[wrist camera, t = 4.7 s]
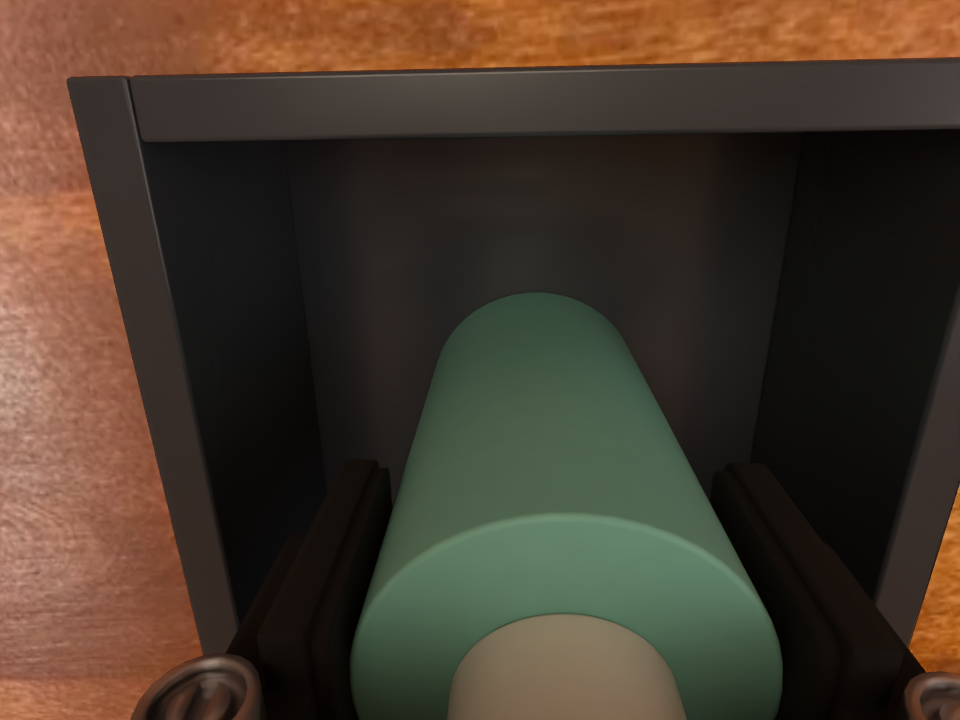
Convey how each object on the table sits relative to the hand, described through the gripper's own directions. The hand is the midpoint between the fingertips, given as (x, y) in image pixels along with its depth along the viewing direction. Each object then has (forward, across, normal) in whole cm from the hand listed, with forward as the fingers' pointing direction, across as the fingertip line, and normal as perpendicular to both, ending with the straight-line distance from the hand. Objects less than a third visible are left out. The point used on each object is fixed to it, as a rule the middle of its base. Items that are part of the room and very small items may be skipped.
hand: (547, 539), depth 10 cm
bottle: (+6, 0, 0) cm, 6 cm away
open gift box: (+7, 0, 0) cm, 7 cm away
